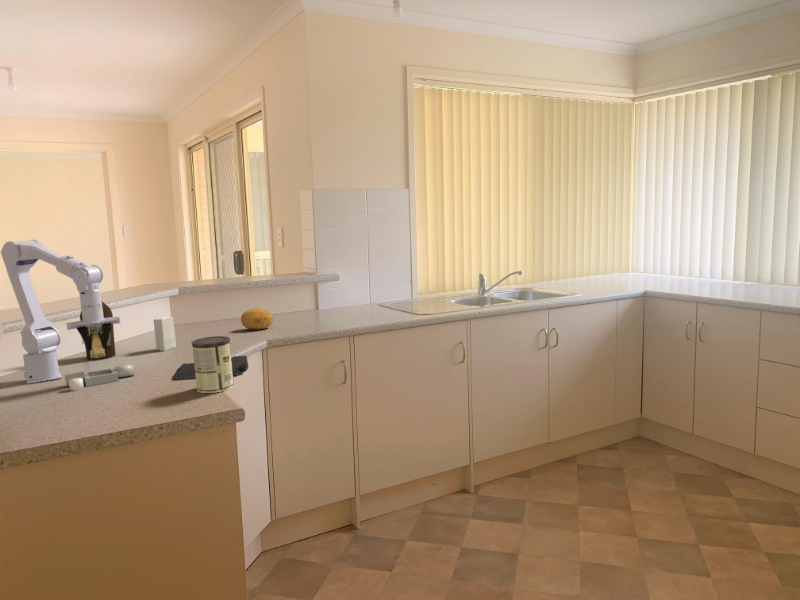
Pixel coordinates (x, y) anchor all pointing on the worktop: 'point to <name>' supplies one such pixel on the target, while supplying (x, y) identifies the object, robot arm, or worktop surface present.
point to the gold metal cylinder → (96, 345)
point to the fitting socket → (102, 375)
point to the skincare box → (164, 333)
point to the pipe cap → (76, 384)
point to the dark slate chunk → (189, 374)
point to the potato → (256, 319)
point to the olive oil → (110, 343)
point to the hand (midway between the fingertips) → (97, 349)
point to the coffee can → (213, 364)
